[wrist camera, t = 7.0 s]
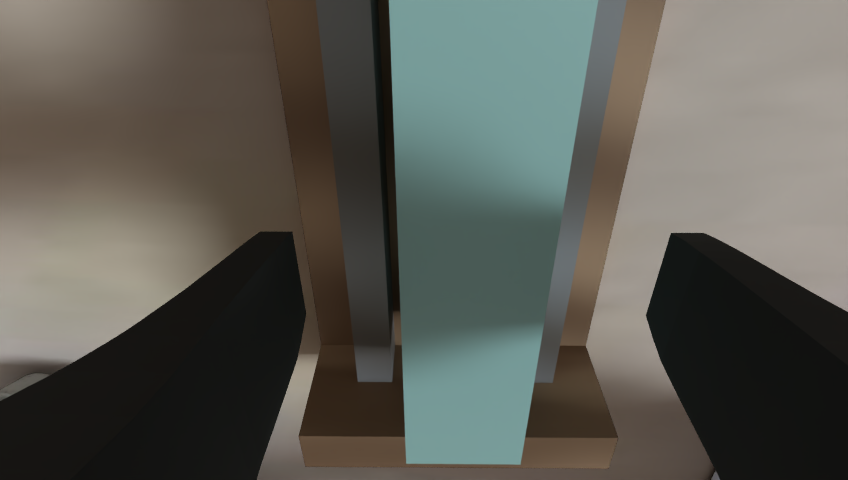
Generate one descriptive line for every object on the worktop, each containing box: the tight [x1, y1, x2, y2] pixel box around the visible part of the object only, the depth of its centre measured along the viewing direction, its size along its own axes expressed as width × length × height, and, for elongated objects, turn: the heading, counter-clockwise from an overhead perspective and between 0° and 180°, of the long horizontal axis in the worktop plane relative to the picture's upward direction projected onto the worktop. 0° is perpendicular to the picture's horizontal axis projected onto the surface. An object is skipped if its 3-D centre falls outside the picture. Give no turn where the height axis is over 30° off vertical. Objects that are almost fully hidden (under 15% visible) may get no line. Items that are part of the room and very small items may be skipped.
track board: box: [267, 0, 666, 469], centre depth 14 cm, size 19×10×5 cm, turn 0°
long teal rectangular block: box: [389, 0, 598, 465], centre depth 13 cm, size 12×3×6 cm, turn 0°
